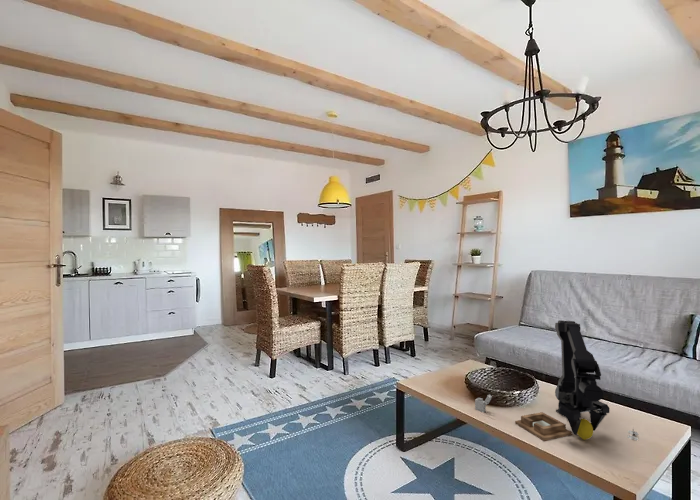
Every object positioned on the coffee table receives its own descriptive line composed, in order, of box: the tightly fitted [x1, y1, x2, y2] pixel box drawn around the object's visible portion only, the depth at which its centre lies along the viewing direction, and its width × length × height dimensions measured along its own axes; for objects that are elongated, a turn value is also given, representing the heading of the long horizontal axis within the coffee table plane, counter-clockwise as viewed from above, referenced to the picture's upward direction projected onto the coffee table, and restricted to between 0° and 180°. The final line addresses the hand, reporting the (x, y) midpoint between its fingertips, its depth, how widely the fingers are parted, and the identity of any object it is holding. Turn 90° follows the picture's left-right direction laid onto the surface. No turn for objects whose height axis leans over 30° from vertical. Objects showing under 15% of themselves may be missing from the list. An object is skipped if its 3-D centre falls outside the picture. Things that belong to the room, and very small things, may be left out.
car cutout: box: [626, 430, 639, 441], centre depth 138 cm, size 15×7×4 cm, turn 140°
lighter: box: [474, 393, 493, 413], centre depth 156 cm, size 7×2×8 cm, turn 42°
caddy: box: [514, 411, 573, 442], centre depth 141 cm, size 14×14×4 cm
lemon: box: [577, 417, 594, 441], centre depth 133 cm, size 6×6×8 cm
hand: (584, 432), depth 133 cm, fingers open, 9 cm apart
